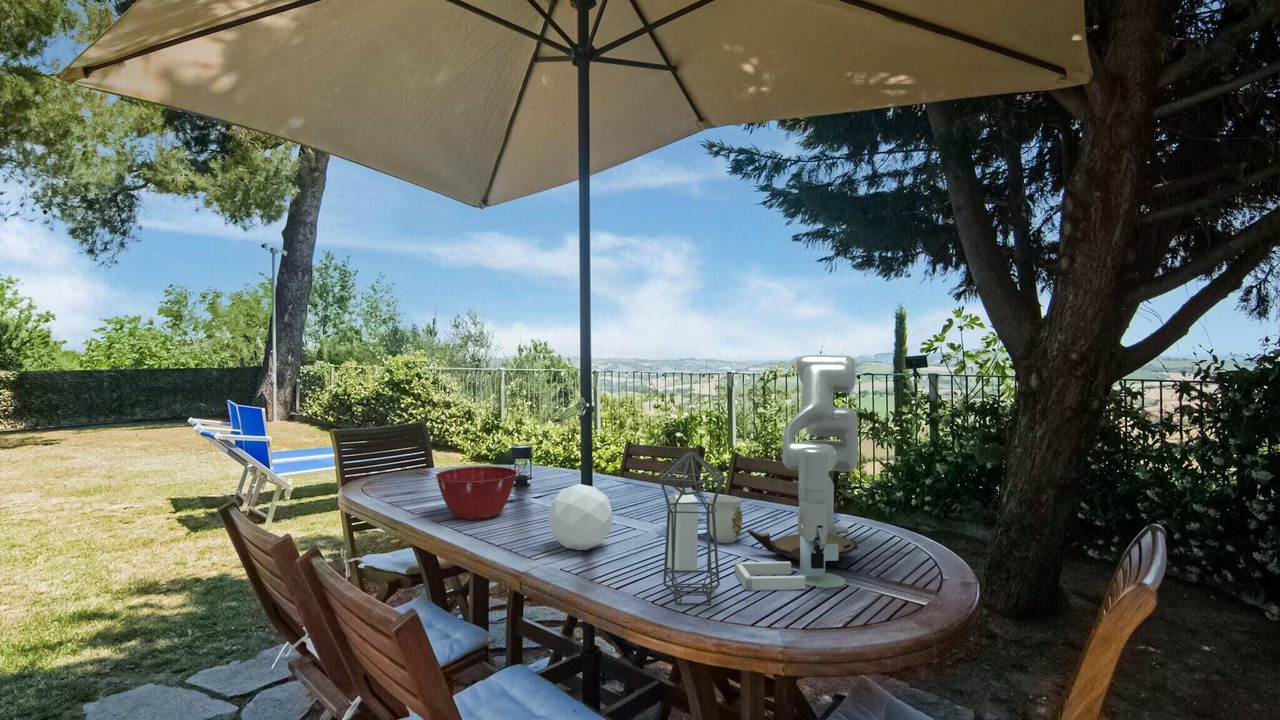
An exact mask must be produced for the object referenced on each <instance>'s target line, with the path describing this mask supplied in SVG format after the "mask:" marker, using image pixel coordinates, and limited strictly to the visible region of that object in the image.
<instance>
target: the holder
mask: <svg viewBox="0 0 1280 720" xmlns="http://www.w3.org/2000/svg"><path fill="white" fill-rule="evenodd" d="M734 575H735V576H736V578H737V579H738V581H739V582H740V584H741V585H742V586H743V588H744V590H745V591H746V592H748V591H749V592H750V591H789V590H790V591H797V590H796V589H798V591H799V589H805V590H806V585H805V577H804V576H798V575H792V562H791V561H735V562H734Z"/></svg>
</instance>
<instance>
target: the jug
mask: <svg viewBox="0 0 1280 720" xmlns="http://www.w3.org/2000/svg"><path fill="white" fill-rule="evenodd" d="M814 540H818V538H815V539H814ZM817 545H818V543H815V548H816V546H817ZM811 552H812V543H811V542H808V541H806V540H805V539H804V538H803V537H802V536H800V560H799V572H800V573H801V574H802V573H804V574H807V575H813V576H819V575H824V574H825V572H826V562H828V561H831V562H832V561H839V558H838V544H826V545H825V548H824V568H823V569H812V568H811Z"/></svg>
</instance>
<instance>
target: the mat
mask: <svg viewBox="0 0 1280 720" xmlns="http://www.w3.org/2000/svg"><path fill="white" fill-rule="evenodd" d="M797 576H804V577H805V584H806V585H805V586H808V585H810V586H809V587H812V586H816V587H815V588H817V587H826V588H825V589H831V588H830V587H838V586H842V585H844V584H845V585H846V579H845V578H843V577H842V576H840V575H838V574H833V573H830V572H826V571H825V574H824V575H819V576H813V575H807V574H804V573H802V572H801V573H799V574H798V575H797ZM845 585H844V586H845ZM827 587H828V588H827ZM842 587H843V586H842Z"/></svg>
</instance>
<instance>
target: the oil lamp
mask: <svg viewBox="0 0 1280 720" xmlns="http://www.w3.org/2000/svg"><path fill="white" fill-rule="evenodd" d="M746 531H747V533H748V534H749V535H750V536H751V537H753V538H754V539H755V541H757V542H758V543H759V544H760V545H762V546H763V547H764V548H765V549H766V550H767V551H768V552H771V553H773V554H774V553H779V554H781V555H784V556H785V557H787V558H791V559H793V560H797V561H800V536H801V535H800V534H798V533H797V534H790V535H785V536H781V537H778V538H776V539H775V540H771V538H770V537H771V535H770V532H763V533H761V532H758V531H754V530H752V529H750V528H748V529H747V530H746ZM826 544H838V559H839V558H841V557H844V556H846V555H848V554H850V553H852V552H854V551H855V550H857V549H859V548H860V546H859V545H858V543H857V542H856V541H853V540H852V539H851V540H850V539H848V538H845V537H842V536H839V535H838V536H834V535H827V539H826Z"/></svg>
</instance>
